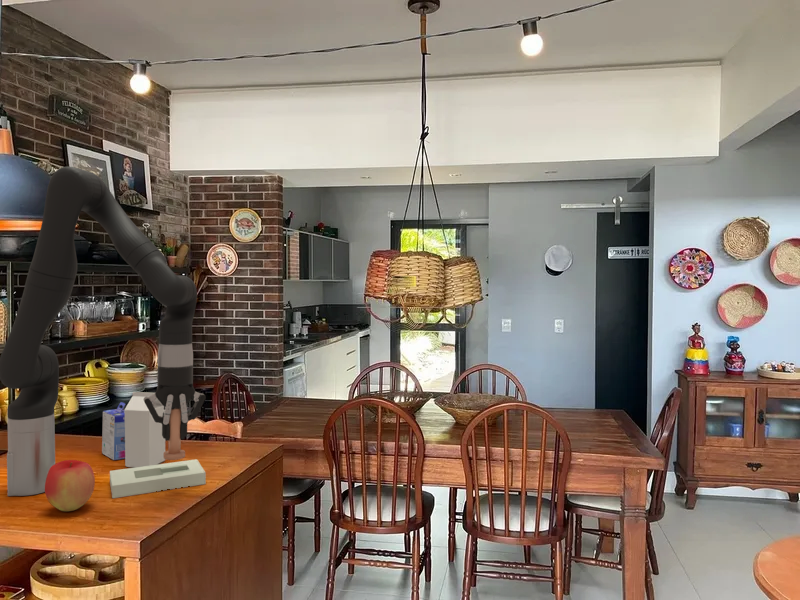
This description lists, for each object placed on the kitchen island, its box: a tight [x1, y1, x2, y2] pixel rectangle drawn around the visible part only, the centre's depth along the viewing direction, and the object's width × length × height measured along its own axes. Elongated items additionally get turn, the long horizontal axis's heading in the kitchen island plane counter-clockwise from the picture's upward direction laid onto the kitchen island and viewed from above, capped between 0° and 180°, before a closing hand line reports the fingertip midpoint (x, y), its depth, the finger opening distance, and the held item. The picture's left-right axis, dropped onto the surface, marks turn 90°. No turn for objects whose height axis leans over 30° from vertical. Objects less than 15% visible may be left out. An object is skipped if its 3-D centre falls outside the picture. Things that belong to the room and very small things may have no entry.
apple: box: [44, 459, 96, 512], centre depth 126 cm, size 10×10×10 cm
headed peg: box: [164, 408, 186, 461], centre depth 136 cm, size 5×5×11 cm
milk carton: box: [124, 391, 166, 468], centre depth 158 cm, size 7×7×19 cm
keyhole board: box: [109, 458, 207, 499], centre depth 143 cm, size 20×12×3 cm, turn 118°
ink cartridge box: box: [101, 401, 127, 461], centre depth 166 cm, size 10×6×14 cm, turn 44°
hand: (174, 438), depth 136 cm, fingers closed on headed peg, 2 cm apart
